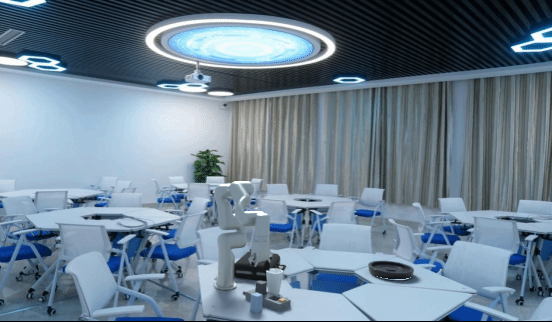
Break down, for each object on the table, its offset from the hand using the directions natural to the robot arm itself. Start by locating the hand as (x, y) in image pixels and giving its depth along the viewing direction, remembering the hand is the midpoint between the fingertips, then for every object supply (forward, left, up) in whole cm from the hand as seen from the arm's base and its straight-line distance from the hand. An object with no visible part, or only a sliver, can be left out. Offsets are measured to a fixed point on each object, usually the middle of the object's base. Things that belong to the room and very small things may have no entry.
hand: (260, 272), depth 195 cm
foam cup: (-10, +23, -19) cm, 32 cm away
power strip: (-7, +11, -19) cm, 23 cm away
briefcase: (-41, +47, -20) cm, 65 cm away
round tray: (+20, +111, -20) cm, 114 cm away
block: (-1, -1, -19) cm, 19 cm away
